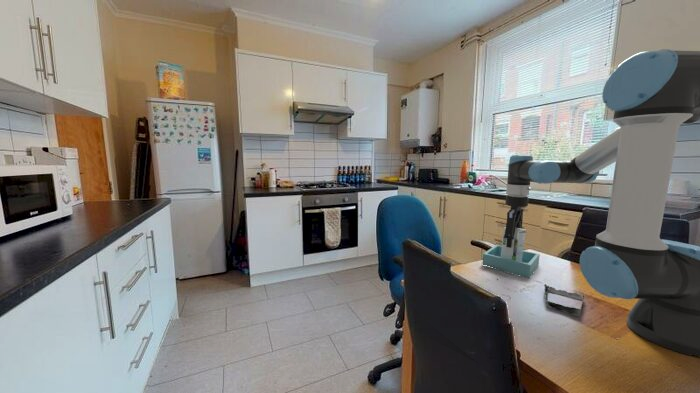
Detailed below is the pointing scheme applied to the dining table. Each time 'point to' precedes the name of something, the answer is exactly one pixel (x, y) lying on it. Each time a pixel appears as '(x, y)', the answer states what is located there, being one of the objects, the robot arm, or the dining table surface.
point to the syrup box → (515, 245)
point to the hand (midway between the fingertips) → (511, 252)
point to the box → (511, 262)
